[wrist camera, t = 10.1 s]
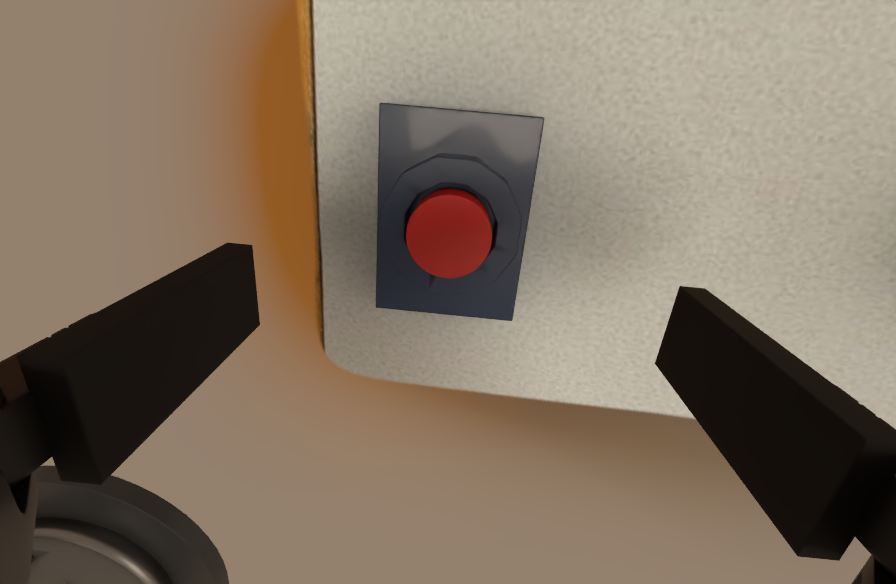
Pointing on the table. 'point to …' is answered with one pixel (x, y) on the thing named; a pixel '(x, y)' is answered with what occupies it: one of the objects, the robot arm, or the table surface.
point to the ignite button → (449, 233)
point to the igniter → (458, 167)
